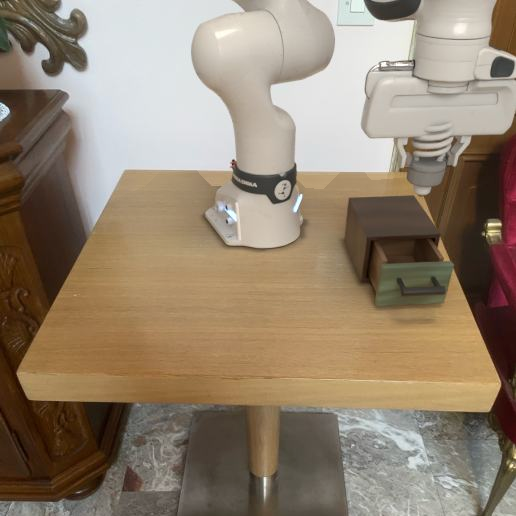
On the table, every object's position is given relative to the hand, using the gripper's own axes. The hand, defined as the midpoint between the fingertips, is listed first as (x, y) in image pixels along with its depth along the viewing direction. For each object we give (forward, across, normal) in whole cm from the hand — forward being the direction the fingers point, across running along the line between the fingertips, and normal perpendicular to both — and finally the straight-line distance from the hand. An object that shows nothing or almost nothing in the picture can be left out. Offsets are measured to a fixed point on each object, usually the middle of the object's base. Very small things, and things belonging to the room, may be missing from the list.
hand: (426, 166), depth 76 cm
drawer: (+22, 0, +1) cm, 22 cm away
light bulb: (+5, 0, 0) cm, 5 cm away
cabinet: (+22, 0, +12) cm, 26 cm away
